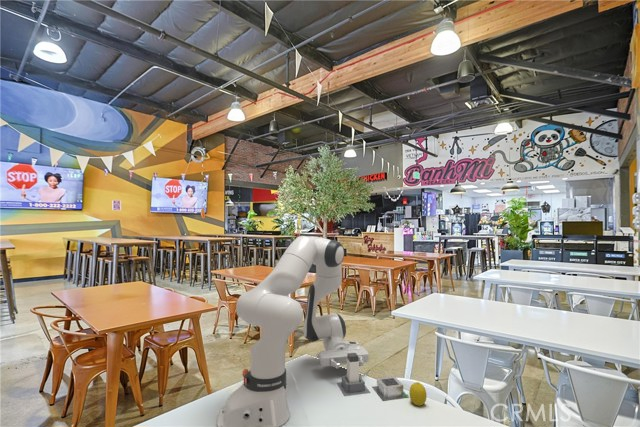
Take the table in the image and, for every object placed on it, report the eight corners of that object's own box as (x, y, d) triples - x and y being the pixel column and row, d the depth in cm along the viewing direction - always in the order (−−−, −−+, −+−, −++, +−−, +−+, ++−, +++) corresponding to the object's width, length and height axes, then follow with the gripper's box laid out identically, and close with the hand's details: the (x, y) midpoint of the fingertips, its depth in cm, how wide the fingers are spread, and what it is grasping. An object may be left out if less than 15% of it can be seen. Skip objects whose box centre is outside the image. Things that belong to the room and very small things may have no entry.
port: (382, 404, 108) (382, 390, 109) (371, 389, 118) (371, 377, 118) (409, 400, 111) (409, 387, 111) (396, 386, 120) (396, 374, 121)
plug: (349, 390, 115) (349, 357, 116) (346, 385, 119) (346, 353, 119) (359, 389, 116) (359, 356, 117) (355, 384, 120) (355, 352, 120)
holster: (344, 399, 111) (344, 387, 112) (336, 385, 121) (336, 374, 121) (370, 395, 114) (370, 384, 114) (360, 382, 123) (360, 371, 124)
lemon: (427, 412, 104) (427, 387, 104) (410, 410, 105) (409, 385, 105) (425, 402, 109) (425, 379, 109) (408, 401, 110) (408, 377, 111)
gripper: (315, 345, 132) (323, 359, 119) (361, 341, 137) (374, 354, 123) (315, 361, 132) (323, 376, 118) (361, 356, 136) (374, 370, 123)
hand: (349, 365), depth 121 cm, fingers open, 8 cm apart
